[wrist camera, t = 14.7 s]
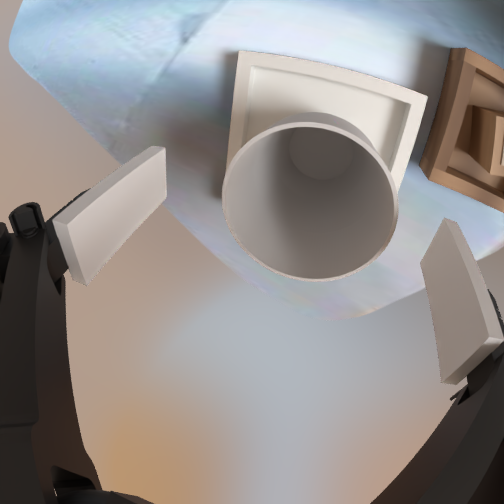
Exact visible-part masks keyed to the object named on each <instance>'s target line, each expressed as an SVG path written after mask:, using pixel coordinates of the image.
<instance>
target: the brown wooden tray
mask: <svg viewBox="0 0 504 504" xmlns="http://www.w3.org/2000/svg"><path fill="white" fill-rule="evenodd" d="M473 105H476V106H480V107H485V108H489V109H493V110H497V111H501V112H504V69H502V68H501V67H499V66H498V65H496V64H494V63H493V62H491V61H489V60H488V59H486V58H484V57H482V56H481V55H479V54H477V53H475V52H473V51H472V50H470V49H468V48H451V50H450V55H449V60H448V65H447V70H446V74H445V78H444V83H443V87H442V91H441V95H440V99H439V102H438V106H437V110H436V113H435V117H434V120H433V124H432V127H431V130H430V133H429V137H428V140H427V143H426V146H425V149H424V152H423V155H422V158H421V161H420V164H419V166H420V168H421V169H422V171H423V172H424V174H425V175H426V177H427V178H428V180H430V181H432V182H435V183H437V184H440V185H442V186H445V187H447V188H450V189H452V190H455V191H457V192H459V193H462V194H464V195H466V196H468V197H471V198H473V199H475V200H477V201H480V202H482V203H484V204H486V205H488V206H490V207H492V208H494V209H497V210H499V211H501V212H503V213H504V177H503V176H497V175H491V174H489V173H488V172H487V171H486V170H485V169H484V168H483V167H482V166H481V165H480V164H478V163H477V162H476V161H475V160H474V159H473V158H472V157H471V156H470V155H469V150H470V139H471V127H472V107H473Z"/></svg>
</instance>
